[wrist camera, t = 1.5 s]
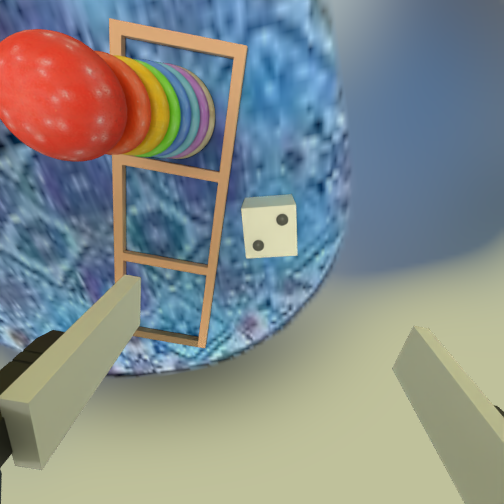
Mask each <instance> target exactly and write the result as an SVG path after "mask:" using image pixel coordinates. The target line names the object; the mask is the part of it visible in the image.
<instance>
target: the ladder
mask: <svg viewBox="0 0 504 504" xmlns="http://www.w3.org/2000/svg"><path fill="white" fill-rule="evenodd" d="M109 35H110V54H111V55H119V56H124V57H125V38H129V39H134V40H139V41H144V42H149V43H154V44H159V45H164V46H169V47H174V48H179V49H185V50H190V51H195V52H200V53H205V54H210V55H215V56H220V57H225V58H230V59H234V61H233V69H232V77H231V85H230V93H229V101H228V109H227V117H226V125H225V133H224V141H223V149H222V156H221V164H220V172H219V171H214V170H209V169H203V168H198V167H193V166H187V165H182V164H177V163H171V162H166V161H161V160H155V159H150V158H145V157H137V156H132V155H123V154H119V155H112V172H113V218H114V263H115V283H116V282H117V281H118V280H119V279H120V278H122V277H123V276H124V275H126V261H129V262H134V263H140V264H145V265H151V266H157V267H162V268H168V269H173V270H179V271H185V272H190V273H196V274H201V275H207V276H206V284H205V292H204V300H203V308H202V316H201V324H200V332H199V337H196V336H190V335H184V334H179V333H173V332H167V331H161V330H156V329H150V328H144V327H138V328H137V330H136V331H135V333H134V334H133V336H137V337H143V338H149V339H154V340H160V341H166V342H172V343H177V344H183V345H189V346H195V347H201V348H205V346H206V342H207V335H208V328H209V320H210V313H211V306H212V299H213V292H214V285H215V278H216V270H217V263H218V256H219V249H220V242H221V235H222V228H223V221H224V213H225V206H226V199H227V192H228V185H229V178H230V171H231V163H232V156H233V149H234V142H235V135H236V128H237V121H238V114H239V106H240V99H241V92H242V85H243V78H244V71H245V64H246V57H247V49H248V48H247V46H246V45H241V44H236V43H231V42H226V41H221V40H216V39H210V38H205V37H200V36H195V35H190V34H185V33H180V32H175V31H170V30H165V29H160V28H155V27H150V26H145V25H140V24H135V23H130V22H125V21H120V20H115V19H110V18H109ZM126 165H127V166H132V167H138V168H143V169H148V170H154V171H159V172H164V173H170V174H175V175H180V176H186V177H191V178H197V179H202V180H207V181H213V182H218V188H217V196H216V204H215V212H214V220H213V228H212V236H211V244H210V252H209V260H208V265H206V264H200V263H195V262H189V261H183V260H178V259H172V258H167V257H161V256H156V255H150V254H144V253H139V252H133V251H128V250H126Z"/></svg>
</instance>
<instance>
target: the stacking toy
mask: <svg viewBox="0 0 504 504" xmlns="http://www.w3.org/2000/svg"><path fill="white" fill-rule="evenodd" d="M0 119H1V120H2V122H3V123H4V124H5V126H6V127H7V128H8V129H9V130H10V131H11V132H12V133H13V134H14V135H15V136H16V137H17V138H18V139H19V140H21V141H22V142H23V143H24V144H26V145H27V146H29V147H30V148H32V149H34V150H36V151H38V152H40V153H42V154H44V155H46V156H49V157H52V158H55V159H60V160H65V161H87V160H92V159H95V158H98V157H100V156H102V155H104V154H108V155H119V154H123V155H132V156H137V157H156V158H172V159H183V158H187V157H190V156H193V155H195V154H196V153H198V152H199V151H201V150H202V149H203V148H204V147H205V146H206V144H207V143H208V141H209V140H210V138H211V136H212V133H213V130H214V124H215V109H214V104H213V100H212V98H211V95H210V93H209V91H208V89H207V88H206V86H205V85H204V83H203V82H202V81H201V80H200V79H199V78H198V77H197V76H196V75H195V74H193V73H192V72H190V71H189V70H187V69H185V68H182V67H180V66H176V65H173V64H169V63H160V62H154V61H150V60H144V59H136V60H135V59H131V58H128V57H124V56H119V55H111V54H108V53H105V52H101V51H93V50H92V49H91V48H89V47H88V46H87V45H85V44H84V43H82V42H81V41H79V40H77V39H75V38H73V37H70V36H68V35H65V34H63V33H59V32H56V31H50V30H42V29H34V30H23V31H20V32H17V33H15V34H12V35H10V36H8V37H7V38H5V39H4V40H3V41H2V42H0Z"/></svg>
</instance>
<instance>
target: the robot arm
mask: <svg viewBox="0 0 504 504" xmlns="http://www.w3.org/2000/svg"><path fill="white" fill-rule="evenodd" d="M140 298H141V277H136V276H130V275H124V276H123V277H122V278H120V279H119V280H118V281H117V282H116V283H115V284H114V285H113V286H112V287H111V288H110V289H109V290H108V291H107V292H106V293H105V294H104V295H103V296H102V297H101V298H100V299H99V300H98V301H97V302H96V303H95V304H94V305H93V306H92V307H91V308H90V309H89V310H88V311H87V312H85V313H84V314H83V315H82V316H81V317H80V318H79V319H78V320H77V321H76V322H75V323H74V324H73V325H72V326H71V327H70V328H69V329H68V330H67V331H66V332H61V331H56V330H52V331H50V332H48V333H46V334H44V335H42V336H40V337H38V338H36V339H35V340H34V341H33V342H32V343H31V344H30V345H28V346H27V347H26V348H25V349H24V351H23V352H20V353H19V354H18V355H17V356H16V357H15V358H14V359H13V361H12V362H9V363H8V364H7V365H6V366H4V367H3V368H2V369H1V370H0V467H1V466H2V465H3V464H4V462H5V461H6V460H7V459H8V458H9V456H10V455H11V454H12V456H13V460H14V463H15V466H19V467H25V468H31V469H38V470H42V469H43V468H44V466H45V465H46V463H47V462H48V460H49V459H50V457H51V456H52V454H53V453H54V451H55V450H56V449H57V447H58V445H59V444H60V443H61V441H62V440H63V438H64V437H65V435H66V434H67V432H68V431H69V429H70V428H71V426H72V425H73V423H74V422H75V420H76V419H77V417H78V416H79V414H80V413H81V411H82V410H83V408H84V407H85V406H86V404H87V403H88V401H89V400H90V398H91V396H92V395H93V394H94V392H95V391H96V389H97V388H98V386H99V385H100V383H101V382H102V380H103V379H104V377H105V376H106V374H107V373H108V371H109V370H110V368H111V367H112V365H113V364H114V363H115V361H116V360H117V358H118V357H119V355H120V354H121V352H122V351H123V349H124V348H125V346H126V345H127V343H128V342H129V340H130V339H131V337H132V336H133V334H134V333H135V331H136V330H137V328H138V327H139V325H140ZM392 369H393V371H394V373H395V375H396V377H397V379H398V380H399V382H400V384H401V386H402V388H403V389H404V392H405V393H406V395H407V397H408V399H409V401H410V403H411V405H412V406H413V408H414V410H415V412H416V414H417V416H418V417H419V419H420V421H421V423H422V425H423V427H424V429H425V431H426V432H427V434H428V436H429V438H430V440H431V442H432V444H433V446H434V447H435V449H436V451H437V453H438V455H439V457H440V458H441V460H442V462H443V464H444V466H445V468H446V470H447V472H448V473H449V475H450V477H451V479H452V481H453V483H454V485H455V487H456V488H457V490H458V492H459V494H460V496H461V497H462V500H463V501H464V503H465V504H504V412H503V411H502V410H501V409H500V408H499V407H497V406H495V405H493V404H492V403H491V402H490V401H489V399H488V398H487V397H486V396H485V395H484V393H483V392H482V391H481V390H480V389H479V388H478V386H477V385H476V384H475V383H474V382H473V380H472V379H471V378H470V377H469V376H468V375H467V373H466V372H465V371H464V370H463V368H462V367H461V366H460V365H459V364H458V363H457V361H456V360H455V359H454V358H453V357H452V355H451V354H450V353H449V352H448V351H447V349H446V348H445V347H444V346H443V345H442V343H441V342H440V341H439V340H438V339H437V338H436V336H435V335H434V334H433V333H432V332H431V330H430V329H428V328H423V327H417V326H413V328H412V330H411V332H410V334H409V336H408V338H407V340H406V342H405V344H404V346H403V348H402V350H401V352H400V354H399V356H398V358H397V360H396V362H395V364H394V366H393V368H392ZM1 475H2V473H1V470H0V504H1Z"/></svg>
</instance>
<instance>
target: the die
mask: <svg viewBox="0 0 504 504" xmlns="http://www.w3.org/2000/svg"><path fill="white" fill-rule="evenodd" d="M241 213H242V222H243V232H244V242H245V251H246V258H262V257H278V256H295V255H297V223H296V203H295V201H294V199H293V197H292V194H287V195H274V196H261V197H248V198H245V199H244V202H243V205H242V208H241Z"/></svg>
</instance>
